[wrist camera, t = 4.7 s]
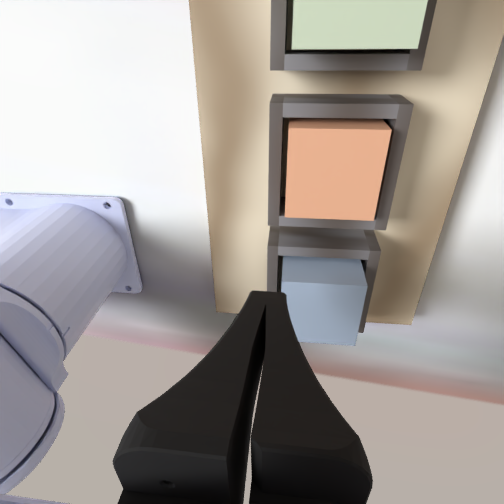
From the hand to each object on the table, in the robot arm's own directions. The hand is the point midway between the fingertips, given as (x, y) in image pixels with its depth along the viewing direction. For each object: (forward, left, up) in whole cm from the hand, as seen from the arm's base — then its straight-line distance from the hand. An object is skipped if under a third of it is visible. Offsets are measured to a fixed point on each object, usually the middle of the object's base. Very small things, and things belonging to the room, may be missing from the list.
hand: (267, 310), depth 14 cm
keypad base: (+3, +3, -10) cm, 11 cm away
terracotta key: (+3, +3, -9) cm, 10 cm away
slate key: (+3, -4, -7) cm, 9 cm away
